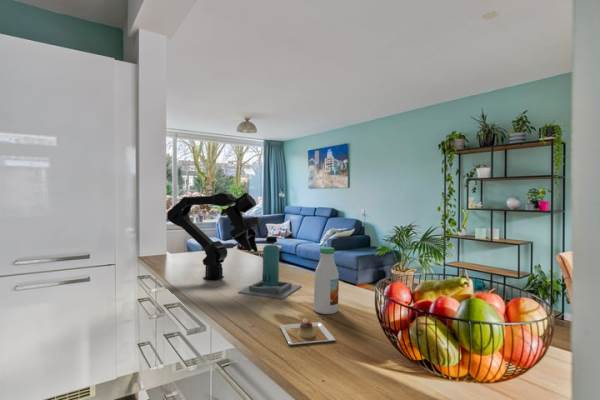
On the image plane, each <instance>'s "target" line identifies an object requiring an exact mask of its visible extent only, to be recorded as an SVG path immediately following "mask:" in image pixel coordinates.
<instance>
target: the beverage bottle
mask: <svg viewBox="0 0 600 400" xmlns="http://www.w3.org/2000/svg"><path fill="white" fill-rule="evenodd" d="M277 242H278V240H277V236H274V235H269V236H266V240H265V243H268V244H266V245H265V246H264V247H262V249H263V251H262V252H263V253H262V254H263V256H262V273H261V274H262V279H261V280H262V281H263V285H264V286H268V287H273V286H277V285H278V284H279V281H280V276H279V275H280V247H279V246H278V245H277V244H276V243H277ZM269 243H270V244H269ZM271 243H273V244H271Z"/></svg>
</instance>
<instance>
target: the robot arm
mask: <svg viewBox="0 0 600 400" xmlns="http://www.w3.org/2000/svg"><path fill="white" fill-rule="evenodd" d="M200 205H201V206H202V205H205V206H206V205H210V206H211V205H212V206H215V207H216V206H217V207H226V208H222V209H221V211H220V215H221V216H226V217H227V218H228V220H229V221H228V222H229V225H230V226H231V227H232V228H233V229H231V230H230V232H229V236H230V237H231V239H233V240H234V241H235V242H237V243H238V244H239V245H240V246H242V247H243V248H245V250H247V251H248V252H251V251H254V252H255V253H257V252H259V251H258V245H257V242H256V239H257V236H258V233H257V230H256V229H254V228H252V227H256V226H257V227H259V226H261V222H262V221H261V220H260V219H261V218H260V217H258V216H253V217H248V218H246V217H244V216H243V214H242V213H245V214H246V213H247V212H248V211H250V210H251V209H253V208H254V207H256V206H257V202H256V200H255V198H253V196H251V195H250V194H249V192H244V193H243V194H241V196H240V197H235V196H234V195H233V194H232V192H231V193H230V192H219V193H214V194H212V195H204V196H201V195H200V196H183V197H182V198H181V199H180V201H179V202H177V203H176V204H174V205H173V206H172V207H171V209H169V210H168V211H167V214H166V216H167V217H166V219H167V220H168V222H170V223H172V224H173V225H175V226H178V227H180V228H182V229H183V230H184V231H185V232H186V233H187V234H188V235H189V236H190V237H191V238H192V239H193V240H194V241H196V242H197V243H198V245H200V247H202V248H203V250H204V254H205V255H206V256H205V257H204V258H203V259H202V264H203V266H205V271H204V272H205V276H203V277H202V279H203V280H212V281H217V280H221V279H222V278H225V277H224V276H225V275H223V263H224V261H225V260H226V258H227V256H228V249H227V248H226V245H224V243H222V242H221V240H217V241H213V240H212V239H211V238H210V237H209V236H208V235H207V234H205V232H204V231H202V230H201V229H200V228H199V227H198V226H197V225H196V224H195V223H194V222H193V221H192V220H191V217H190V214H189V213H190V212H191V210H192V207H193V206H200Z"/></svg>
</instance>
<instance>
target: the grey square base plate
mask: <svg viewBox="0 0 600 400" xmlns="http://www.w3.org/2000/svg"><path fill="white" fill-rule="evenodd" d="M262 280H263V279H261V280H260V281H258V282H255V283H253V284H250V285H249V286H247V287H245V288H243V289H240V290H239V291H237V293H238V294H242V295H248V296H256V297H263V298H269V299H274V300H275V299H276V300H282V301H283V300H284V299H285V298H287V297H289V296H290V295H291V294H293V293H295V292H296V291H298V290H299V289H300V288H302V285H298V284H292V282H289V281H288V282H287V281H281V280H279V284H278V285H277V286H273V287H268V286H264V285H263V281H262Z"/></svg>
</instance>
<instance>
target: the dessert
mask: <svg viewBox="0 0 600 400" xmlns="http://www.w3.org/2000/svg"><path fill="white" fill-rule="evenodd" d="M278 326H279V327H280V330H281V331H282V332H281V333H283V335H284V337H285V340H286V342H287V343H288V345H289V346H295V345H297V346H299V345H307V344H314V343H315V344H316V343H327V342H328V343H329V342H333V341H336V340H337V339H336V338H335V337H334V335H332V334H331V332H330V331H329V330H328V329H327V328H326V326H325V325H324V324H323V323H322V322H321V321H318V322H311V321H310V320H309V319H307V318H306V317H305V318H303V319H302V322H301V323H293V324H292V323H291V324H281V325H280V324H279V325H278ZM314 327H317V328H318V329H319V330H320V331H321V332H322V334H323V335H324V336H325V337H326V338H327V339H325V340H313V341H304V342H293V341H292V339H291V338H290V336H289V334H288V332H287V329H288V330H289V329H298V331H297V336H298V337H300V338H303V339H311V338H314V337H315V335H316V334H315V331H314Z"/></svg>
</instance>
